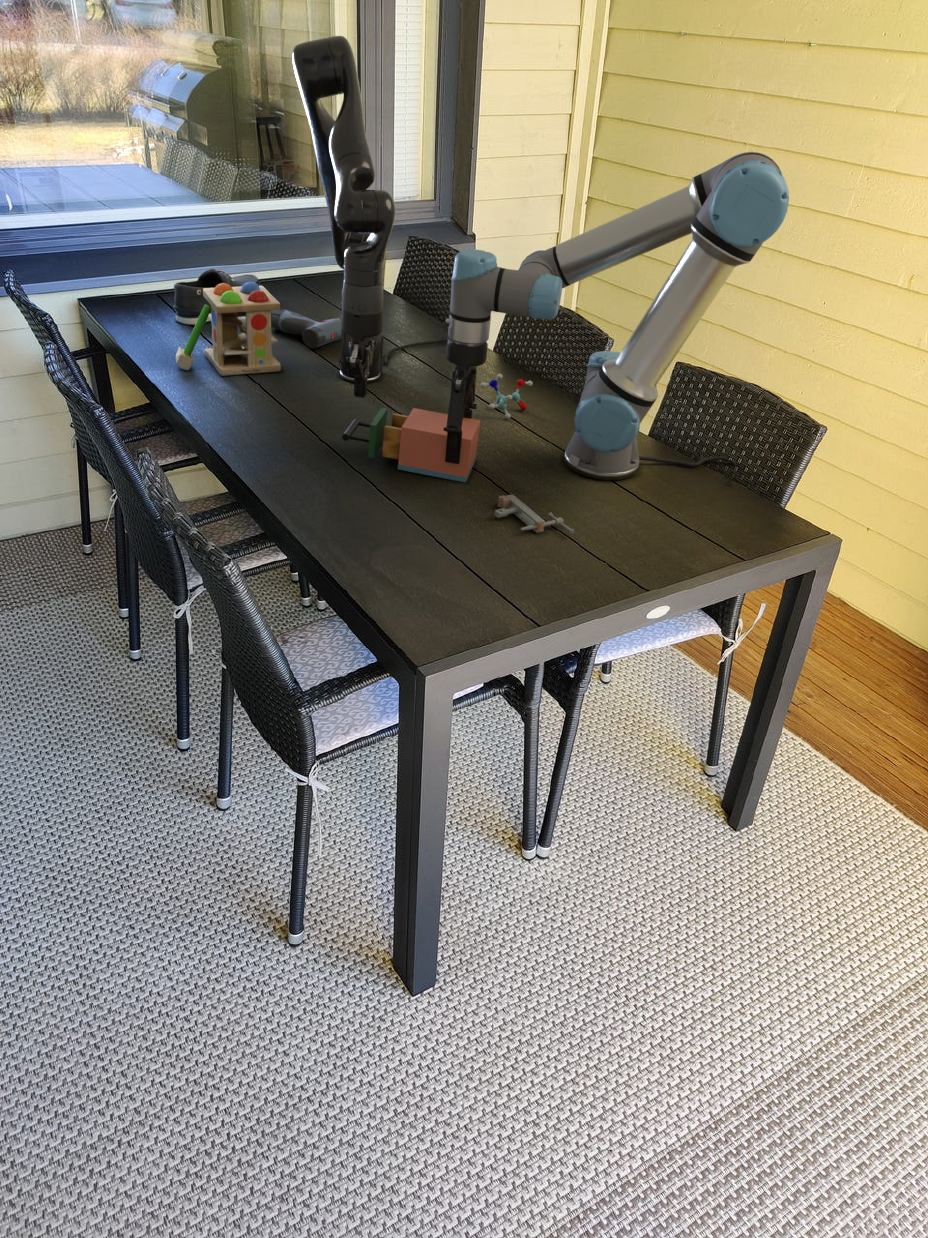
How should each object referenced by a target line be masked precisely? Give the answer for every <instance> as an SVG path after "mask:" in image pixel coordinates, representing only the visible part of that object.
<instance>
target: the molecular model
mask: <svg viewBox="0 0 928 1238" xmlns="http://www.w3.org/2000/svg"><path fill="white" fill-rule="evenodd" d="M503 377H504V376H503V374H502V373H498V374H497V375H496V378H495V379H492V380H490V382H485V381H482V382H481V383H480V387H481V388H482V389H485V388H486V387H487V386H488V387H489V386H490V387H491V388H493V389H494V391H495V393H496V394H497V396H496V401H495V402H493V403H490V404H488V409H489V410H494V409H495V410H496V408H499V410H503V412H504V418H505V419H507V420H509V419H511V418H512V417H511V416H512V415H511V413H508V410H507V405H508V404H507V403H508V402H509V401H511V400H513V401H515V402H516V403H517V405H518V406H519V410H521V411H523V412H525V411H526V410H527V408H528V406H527V404H525V403H524V402H523V400H522V399H521V398H520V397H521V396H520V393H519V392H520V389H521V387H523V386H524V385H527V386H528V387H532V386H533V381H532V380H528V381H524V380H523V379H522V378H519V379H517V380H516V385H517V387H516V390H515V391H514V392H512V394H507V395H506V396H505V395H504V394H502V393H500V391H499V389H498V382H499V380H502V379H503Z"/></svg>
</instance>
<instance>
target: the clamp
mask: <svg viewBox="0 0 928 1238" xmlns="http://www.w3.org/2000/svg"><path fill="white" fill-rule="evenodd" d="M497 508H498V509H495V510H494V516H495V517H496V518H497V519H499V518H505V517H507V516H508V515H512V514H513V515H514V516H516V517H517V518H518V519H519V520H521V522H523V523H524V524H525V526H523V527H520V531H521V532H523V531H531V530H532V531H534V532H535V533H536V534H537V533H538V534H540V533H542V532H544V531H545V527H549V526H562V527H563V528H564V529H565V530H567V531H568V533H569V534H570V535H573V534H574V533H575V529H574V528H570V527H569V526H568V525H566V524H565V523H564V519H563V518H562V517H561V516H560V517H556V516H555V515H554V514H553V512H549V513H548V514H547V517H548V518H551V520H548V521H546V520H545V519H543V518H542V517H541V516H540V515H539V514H537V513H536V512H535V511H534V510H532V509H531V508H530V507H529V506H528V505H526V504H525V503H524V502H523V501H522V500H520V499H519V498H518V497H517V496H515V495H514V494H508V495H499V496H498V499H497ZM552 519H553V520H552Z"/></svg>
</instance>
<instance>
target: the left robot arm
mask: <svg viewBox="0 0 928 1238" xmlns="http://www.w3.org/2000/svg"><path fill="white" fill-rule="evenodd" d="M291 57H292V66H293V70H294V75H295V79H296V83H297V86H298V90H299V92H300V97H301V100H302V104H303V107H304V111H305V114H306V118H307V121H308V126H309V129H310V134H311V139H312V144H313V148H314V155H315V159H316V164H317V170H318V173H319V177H320V182H321V186H322V190H323V195H324V198H325V202H326V206H327V212H328V217H329V223H330V230H331V239H332V248H333V253H334V259H335V261H336V263H337V265H338V267H339V268H340V269H342V270H343V285H342V290H341V307H340V308H341V310H340V311H341V312H340V314H341V315H340V318H341V338H340V358H339V360H338V365H339V366H340V370H339V376H340V377H341V378H342V380H345V381H348V382H352V383H353V396H354V397H356V398H361V399H364V398H365V397H366V396H367V394H368V384H369V383H373V382H376V381H378V380H380V378H381V375H382V374H383V367H384V366H386V365H387V364H388V361H389V360H388V359H389V356H390V354H392V353H394V352H396V351H400V350H403V349H407V348H411V347H416V346H423V345H424V346H425V345H430V344H436V343H442V342H447V340H448V339H449V338H450V337H445V338H440V339H439V338H438V339H433V340H426V341H418V342H412V343H408V344H404V345H400V346H396V347H394V348H392V349H389V350H388V351H387V352H386V353H385V354H383V353H384V335H383V334H382V332H383V320H384V289H385V275H386V274H385V273H386V263H387V253H388V251H387V249H388V244H389V239H390V236H391V234H392V231H393V228H394V225H395V220H396V209H397V208H396V203H395V200H394V198H393V196H392V195H391V194H390V193H389V192H388V191H387V190H383V189H369V188H370V187H371V186H372V185H373V184H374V182H375V180H376V170H375V166H374V162H373V158H372V154H371V150H370V147H369V143H368V138H367V133H366V125H365V117H364V108H363V99H362V94H361V87H360V81H359V74H358V69H357V63H356V60H355V59H356V58H355V56H354V52H353V49H352V46H351V43H350V42H349V40H348V39H347V38H346V37H345V36H343V35H333V36H328V37H324V38H323V37H322V38H318V39H314V40H307V41H304V42H301V43H298V44H296V45H295V46H294V47H293V49H292V55H291ZM339 95H343V98H342V103H341V106H340V109H339V111H338V114H337V116H336V119H334V117H332V115H331V114H330V113H329V112H328V110H327V109H326V107H325V105H324V104H323V102H322V101H321V99H325V98H329V97H334V96H339Z"/></svg>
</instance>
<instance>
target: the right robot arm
mask: <svg viewBox="0 0 928 1238" xmlns="http://www.w3.org/2000/svg"><path fill="white" fill-rule="evenodd" d="M780 168H781V167H780V166H779V165H778V164H777V163H776V162H775V160H774V159H773V158H771V157H770V156H768V155H767V154H765V153H762V152H757V151H747V152H746V151H745V152H742V153H741V152H740V153H738V154H735V155H734V156H731V157H729V158H727V159H726V160H724V161H722V162H721V163H719V164H717V165H715V166H713V167H711V168H709V169H707V170H706V171H705V170H704V171H703V172H701V173H699V174H697V175H695V176H692V177H691V179H690V180H689V183H688V185H687V186H685V187H683V188H681V189H679V190H675V191H674V192H671V193H669V194H668V195H665V196H663V197H660V198H659V199H656V200H654V201H652V202H650V203H647V204H645V205H643V206H641V207H638V208H636V209H634V210H632V211H630V212H627V213H625V214H623V215H621V216H618V217H616V218H614V219H612V220H609V221H608V222H605V223H603V224H601V225H598V226H595V227H593V228H591V229H589V230H587V231H584V232H582V233H581V234H578V235H576V236H574V237H571V238H569V239H567V240H564V241H563V242H560V243H558V244H555V246H552V247H549V248H547V249H540V250H536V251H533V252H531V253H530V254H529V255H527V256H526V257H525V258H524V259H523V260H522V261H521V263H520V265H519V268H518V269H510V268H504V267H501V266H498V263H497V256H496V255H495V254H494V253H492V252H490V251H485V250H484V249H483V250H482V249H463V250H461V251H459V252H458V253H456V254H455V257H454V263H453V270H452V276H451V288H450V302H449V303H450V304H449V318H446V319H445V323H446V324H447V325H449V326H448V330H447V331H448V332H447V337H448V338H449V339H448V340H447V341H446V350H445V351H446V352H445V358H446V360H447V362H450V363H451V364H454V365H455V368H454V370H453V371H452V376H451V378H452V379H451V381H450V383H451V385H450V394H449V395H450V397H449V403H448V411H447V414H448V418H447V426H446V427H444V431H446V432H447V444H446V455H445V462H448V463H454V464H459V462H460V451H461V441H462V429H461V428H462V422H463V417H464V418H470V419H473V410H477V406H478V404H477V403H475V401H476V387H477V386H476V384H477V371H478V370H477V367H479V366H482V365H484V364H485V363H486V362H487V356H488V347H489V344H488V341H489V339H490V332H491V321H492V312H494V313H499V314H500V313H501V314H507V315H513V316H518V317H524V318H525V317H526V318H529V319H530V318H531V319H534V320H549V321H550V320H554V319H556V317H557V316H558V313H559V310H560V306H561V305H560V304H561V299H562V293H563V292H562V291H563V289H565V288H567V287H570V286H571V285H574V284H575V283H578V282H581V281H582V280H585V279H587V278H590V277H592V276H594V275H596V274H600V273H601V272H604V271H606V270H608V269H611V268H613V267H616V266H618V265H620V264H623V263H625V262H628V261H629V260H632V259H634V258H637V257H639V256H642V255H644V254H646V253H649V252H651V251H653V250H656V249H658V248H660V247H663V246H665V245H668V244H670V243H672V242H674V241H677V240H680V239H681V238H684V237H687V236H689V235H692V237H691V240H690V241H689V243H688V245H687V247H686V248H685V250H684V252H683V253H682V255H681V256H680V258H679V260H678V261H677V263H676V264H675V266H674V267H673V269H672V271H671V272H670V274H669V275H668V276H667V278H666V280H665V281H664V283H663V285H662V286H661V288H660V289H659V291H658V292H657V294H656V295H655V297H654V299H653V301H652V302H651V303H650V305H649V306H648V308H647V309H646V312H645V313H644V314H643V316H642V318H641V319H640V321H639V322H638V324H637V325H636V327H635V329H634V330H633V332H632V333H631V335H630V337H629V338H628V340H626V343H625V344H624V346H623V347H622V349H621V351H612V350H611V351H608V350H607V351H606V350H603V351H602V350H601V351H596V352H593V353H592V354H591V355H590V356H589V359H588V363H587V364H586V369H587V370H586V376H585V381H584V385H583V389H582V392H581V396H580V399H579V402H578V405H577V407H576V409H575V413H574V427H575V431H574V433H573V434H572V436H571V438H570V441H569V442H568V444H567V446H566V449H565V452H564V459H563V461H564V465H566V466H567V468H569V469H570V470H571V471H573V472H574V473H577V474H578V475H581V476H584V477H586V478H590V479H593V480H600V481H622V480H627V479H629V478H632V477H634V476H635V475H637V473H638V470H639V466H640V461H647V462H656V463H665V464H672V465H673V464H674V465H678V466H683V467H689V468H695V467H699V466H701V464H703V463H706V462H713V461H725V462H728V463H729V464H731V465H732V466H737V463H736V461H734V460H733V459H732V460H728V458H729V457H728V458H727V456H721V455H720V456H710V457H703V458H701V459H700V460H698V461H696V462H685V461H681V460H678V459H677V460H676V459H670V458H662V457H661V458H660V457H652V456H651V457H650V456H643V455H641V456H640V455H639V447H638V440H637V436H638V435H639V431H640V427H641V423H642V422H643V419H645V417H646V415H647V414H648V413H649V411H650V410H651V408H652V407H653V406H654V404H655V402H656V401H657V399H658V398H659V392H658V388H657V384H658V383H659V382H660V380H661V378H662V377H663V376H664V374H665V373H666V371H667V370H668V368H669V367H670V365H671V364H672V363H673V361H674V360H675V357H676V356H677V355H678V353H679V352H680V350H681V349H682V347H683V346H684V344H685V343H686V341H688V338H689V337H690V335H692V332H693V331H694V329H695V328H696V326H697V325H698V324H699V322H700V321H701V319H702V317H703V316H704V315H705V313H706V312H707V310H708V309H709V307H710V306H711V304H712V303H713V302H714V300H715V298H717V295H718V294H719V292H720V291H721V290H722V287H723V286H724V285H725V283H726V282H727V281H728V279H729V277H730V276H731V275H732V273H733V272H734V270H735V269H736V268H737V267H739V266H742V265H746V264H749V263H751V261H752V260H753V259H754V257H755V255H756V254H757V253H758V251H759V250H760V248H761V247H762V245H763V243H764V242H767V240H769V239H770V238H771V237H773V236H774V235H775V233H776V232H778V230H779V229H780V228H781V226H782V224H783V223H784V220H785V218H786V217H787V213H788V208H789V202H790V196H789V195H790V193H789V187H788V184H787V181H786V179H785V177H784V176H783V173H782V171H781V169H780Z"/></svg>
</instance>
